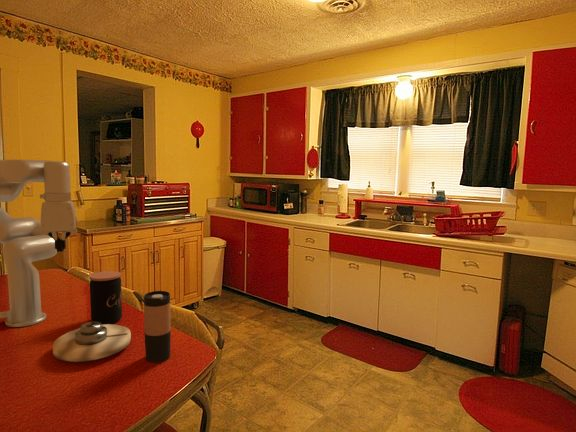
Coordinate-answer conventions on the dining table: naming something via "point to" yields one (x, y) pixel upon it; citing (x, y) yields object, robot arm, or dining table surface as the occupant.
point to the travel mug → (157, 326)
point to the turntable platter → (73, 352)
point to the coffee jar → (105, 297)
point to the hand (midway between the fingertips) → (60, 251)
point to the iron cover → (90, 333)
